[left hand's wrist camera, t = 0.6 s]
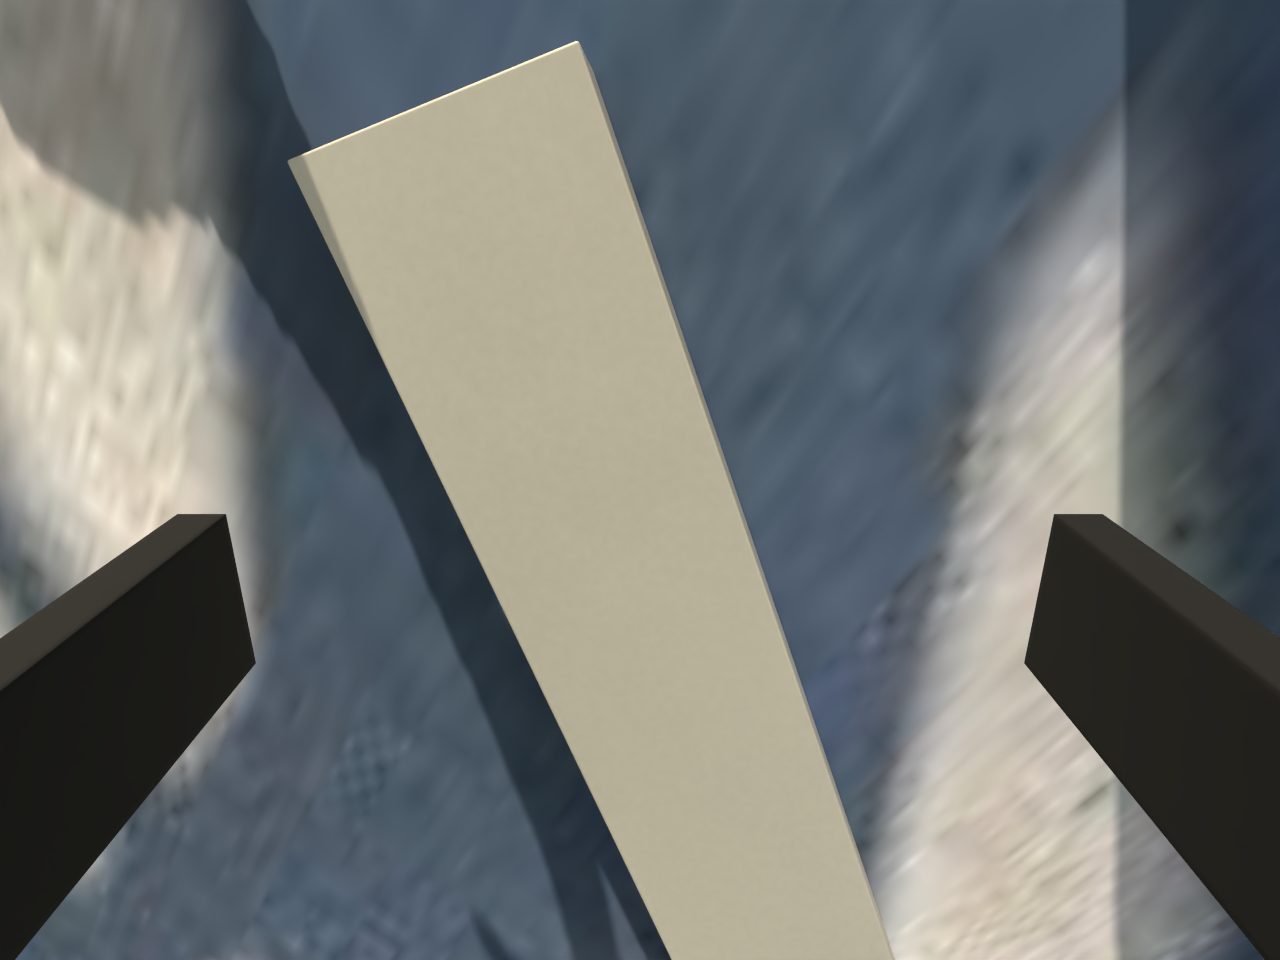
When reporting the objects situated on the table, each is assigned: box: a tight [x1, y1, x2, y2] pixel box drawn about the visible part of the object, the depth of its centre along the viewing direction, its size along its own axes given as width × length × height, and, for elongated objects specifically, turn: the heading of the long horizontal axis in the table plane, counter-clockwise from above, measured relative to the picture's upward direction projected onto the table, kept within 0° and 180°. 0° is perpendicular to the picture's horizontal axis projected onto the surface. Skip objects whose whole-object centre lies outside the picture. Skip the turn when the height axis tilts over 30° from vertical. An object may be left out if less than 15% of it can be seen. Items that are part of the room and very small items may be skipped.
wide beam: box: [288, 41, 895, 960], centre depth 37 cm, size 67×9×7 cm, turn 20°
